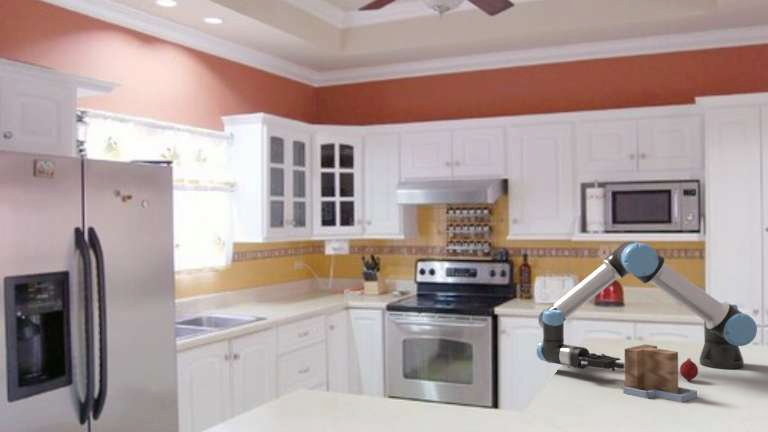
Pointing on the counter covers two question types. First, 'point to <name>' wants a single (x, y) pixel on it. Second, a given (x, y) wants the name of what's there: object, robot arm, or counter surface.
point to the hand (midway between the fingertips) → (633, 367)
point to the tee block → (651, 369)
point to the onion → (688, 370)
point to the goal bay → (663, 394)
